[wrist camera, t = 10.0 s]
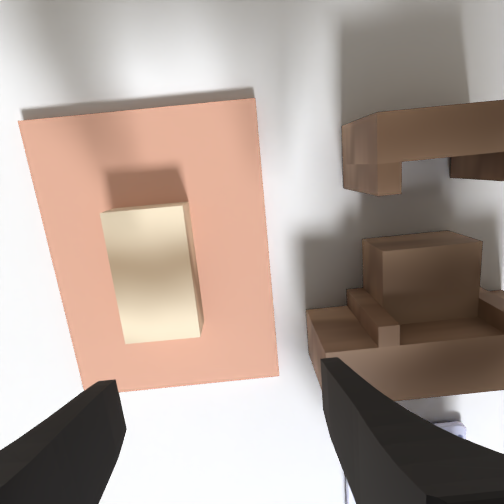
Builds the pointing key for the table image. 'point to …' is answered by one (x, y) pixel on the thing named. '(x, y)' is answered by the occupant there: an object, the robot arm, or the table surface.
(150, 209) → the slab
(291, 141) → the table surface
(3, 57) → the table surface
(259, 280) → the mat
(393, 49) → the table surface
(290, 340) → the table surface
